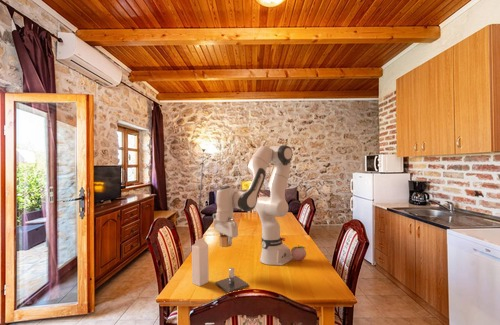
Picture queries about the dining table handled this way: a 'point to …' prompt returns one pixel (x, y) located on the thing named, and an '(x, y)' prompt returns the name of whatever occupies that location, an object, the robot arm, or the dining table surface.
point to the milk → (200, 263)
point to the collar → (224, 241)
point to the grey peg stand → (231, 282)
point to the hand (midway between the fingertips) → (225, 241)
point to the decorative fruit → (298, 253)
